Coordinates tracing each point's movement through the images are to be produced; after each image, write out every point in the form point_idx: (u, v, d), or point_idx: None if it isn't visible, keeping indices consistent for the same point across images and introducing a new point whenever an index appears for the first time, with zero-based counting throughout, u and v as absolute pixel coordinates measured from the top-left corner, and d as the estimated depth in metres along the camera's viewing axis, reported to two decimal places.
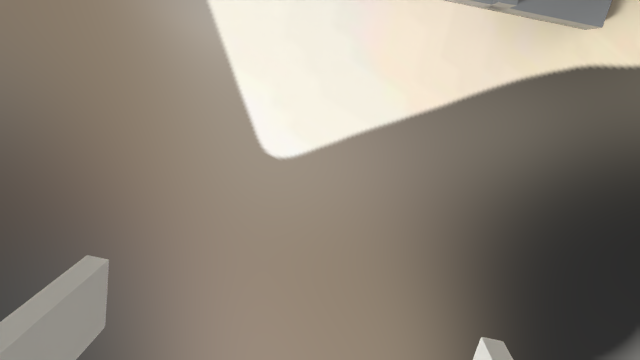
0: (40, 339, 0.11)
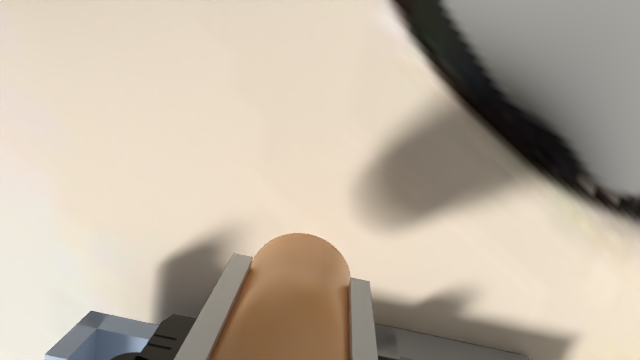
0: None
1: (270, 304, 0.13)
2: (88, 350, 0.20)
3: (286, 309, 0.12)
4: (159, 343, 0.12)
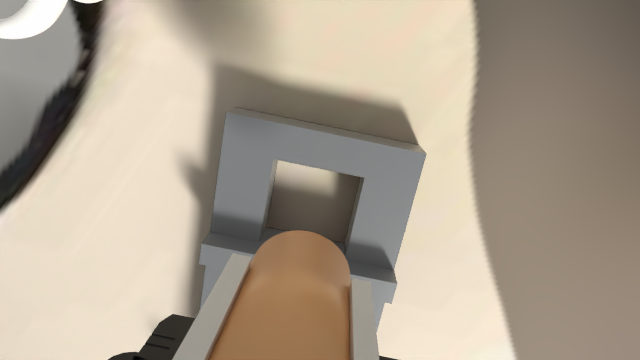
0: None
1: (271, 299, 0.13)
2: None
3: (287, 304, 0.12)
4: (158, 343, 0.12)
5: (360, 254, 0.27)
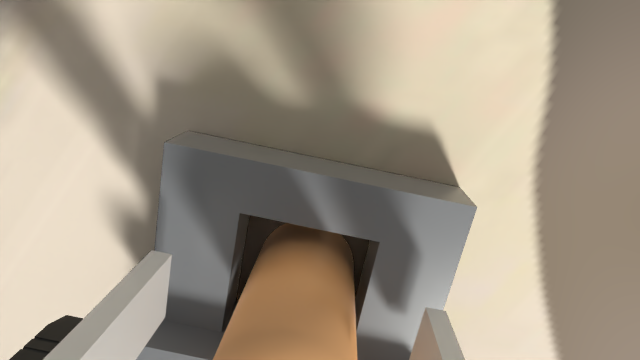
0: (125, 325, 0.12)
1: (283, 278, 0.14)
2: None
3: (297, 283, 0.14)
4: (38, 347, 0.11)
5: (372, 351, 0.18)
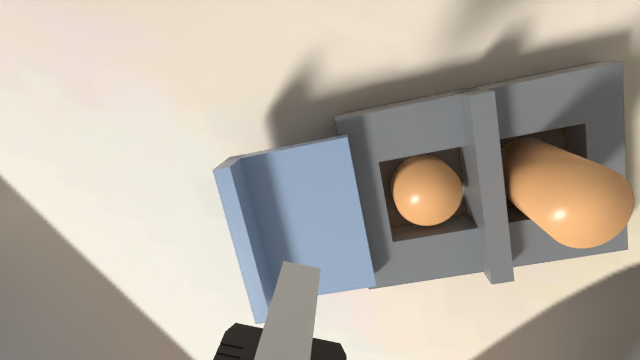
0: None
1: None
2: (240, 173, 0.25)
3: None
4: (228, 352, 0.12)
5: (510, 235, 0.27)
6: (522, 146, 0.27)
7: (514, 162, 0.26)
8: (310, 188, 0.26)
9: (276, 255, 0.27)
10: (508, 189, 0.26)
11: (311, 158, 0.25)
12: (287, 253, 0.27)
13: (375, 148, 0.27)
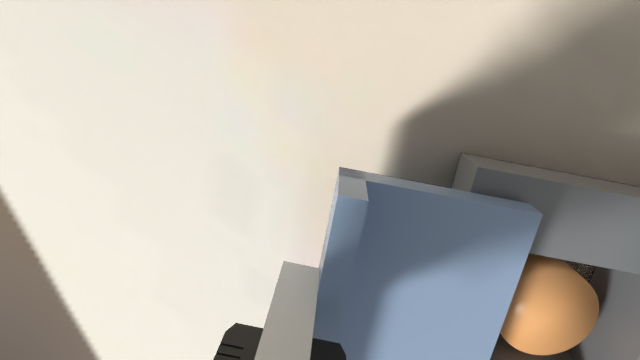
0: None
1: None
2: None
3: None
4: (228, 352, 0.12)
5: None
6: None
7: None
8: (447, 264, 0.16)
9: (348, 334, 0.18)
10: None
11: (473, 223, 0.16)
12: (366, 337, 0.18)
13: None
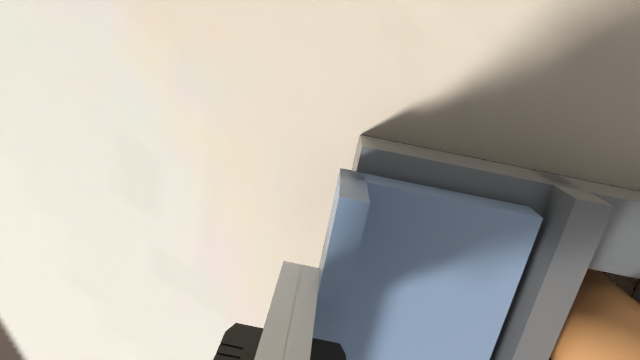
0: None
1: None
2: None
3: None
4: (228, 352, 0.12)
5: None
6: (593, 281, 0.19)
7: (581, 303, 0.18)
8: (447, 266, 0.16)
9: (347, 335, 0.18)
10: None
11: (473, 226, 0.16)
12: (365, 339, 0.18)
13: None
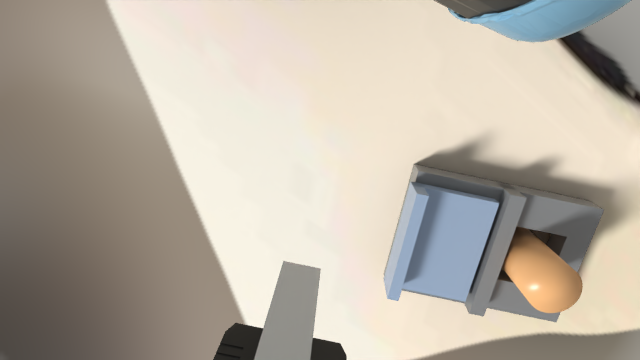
0: None
1: None
2: None
3: None
4: (228, 352, 0.12)
5: None
6: (525, 233, 0.39)
7: (517, 242, 0.38)
8: (458, 225, 0.37)
9: (412, 257, 0.38)
10: (506, 257, 0.38)
11: (469, 206, 0.37)
12: (420, 259, 0.38)
13: None
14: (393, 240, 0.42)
